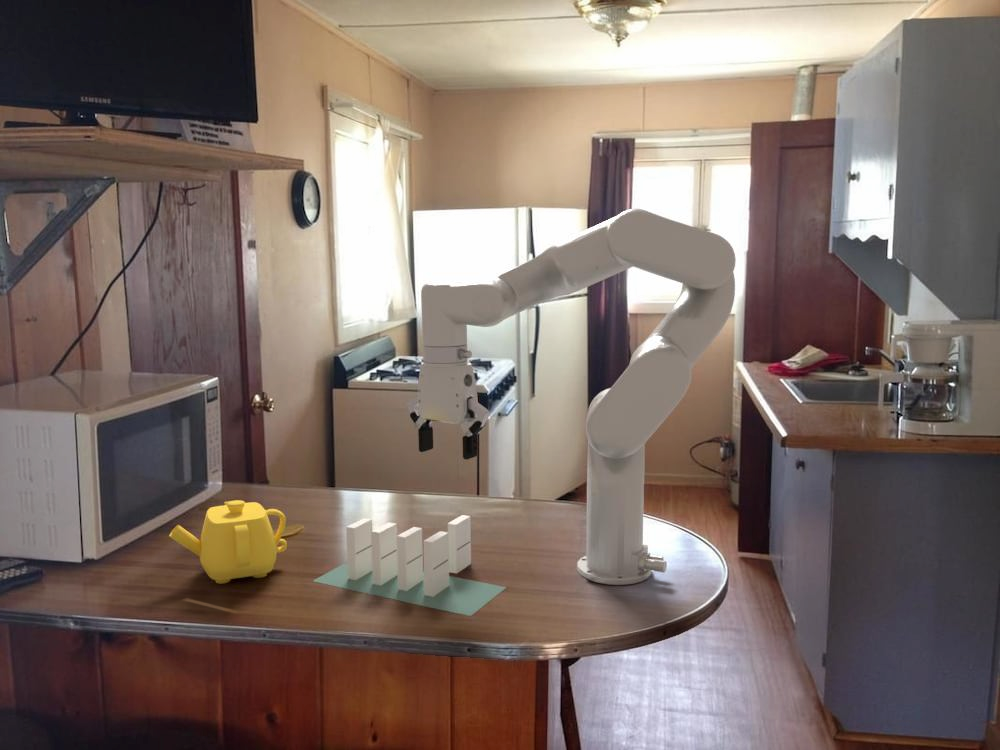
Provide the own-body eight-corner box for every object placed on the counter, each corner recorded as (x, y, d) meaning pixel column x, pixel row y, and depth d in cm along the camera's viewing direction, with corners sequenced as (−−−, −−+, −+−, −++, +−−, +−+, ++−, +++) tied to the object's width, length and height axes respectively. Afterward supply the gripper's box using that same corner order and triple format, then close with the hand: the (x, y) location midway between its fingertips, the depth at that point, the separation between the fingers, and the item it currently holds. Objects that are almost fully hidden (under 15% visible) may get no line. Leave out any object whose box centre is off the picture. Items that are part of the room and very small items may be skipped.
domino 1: (373, 570, 146) (372, 519, 145) (356, 580, 142) (354, 528, 141) (365, 568, 147) (364, 518, 146) (347, 578, 143) (346, 526, 141)
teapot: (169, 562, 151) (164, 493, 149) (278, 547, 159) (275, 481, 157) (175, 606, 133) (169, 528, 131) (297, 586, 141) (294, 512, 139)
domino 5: (471, 565, 149) (470, 516, 148) (456, 575, 145) (456, 524, 143) (462, 564, 150) (462, 514, 149) (448, 574, 146) (447, 523, 144)
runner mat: (506, 589, 139) (506, 587, 139) (470, 618, 128) (470, 616, 128) (355, 559, 152) (355, 557, 152) (312, 583, 142) (312, 581, 142)
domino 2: (398, 575, 144) (396, 523, 143) (380, 585, 140) (379, 532, 138) (389, 573, 145) (388, 522, 143) (372, 583, 140) (371, 531, 139)
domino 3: (423, 580, 142) (422, 528, 140) (406, 591, 138) (405, 537, 136) (414, 578, 143) (413, 526, 141) (398, 589, 138) (396, 535, 137)
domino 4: (449, 585, 140) (448, 532, 138) (433, 596, 135) (432, 542, 134) (440, 583, 140) (439, 531, 139) (424, 594, 136) (423, 540, 135)
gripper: (499, 356, 143) (501, 456, 145) (420, 349, 152) (423, 443, 155) (472, 361, 137) (474, 465, 139) (392, 354, 146) (395, 452, 149)
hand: (447, 454), depth 147 cm, fingers open, 9 cm apart
